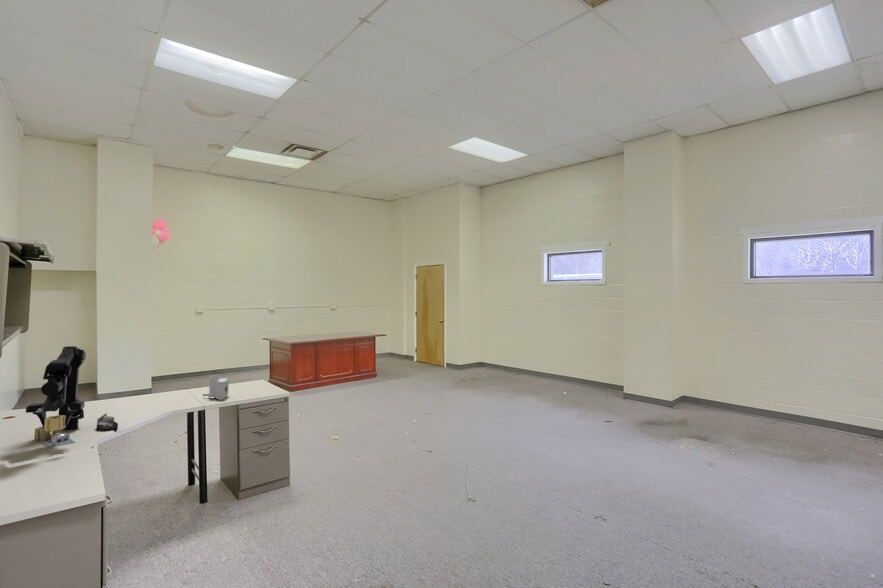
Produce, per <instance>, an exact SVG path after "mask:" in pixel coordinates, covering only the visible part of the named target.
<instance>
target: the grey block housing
mask: <svg viewBox="0 0 883 588" xmlns="http://www.w3.org/2000/svg"><path fill="white" fill-rule="evenodd" d="M229 380H230V378H224V377H223V378H220V375H219V374H212V375H210V376H209V389H208V390H209V391H208V393H203V394H202V397H207V396H208V398H209V397H214V398H216V399H224V398H225V397H226V396H227V395H228V396H229V386H230V385H229V384H230V383H229V382H230V381H229ZM228 396H227V397H228ZM227 397H226V398H227ZM214 398H213V399H214ZM226 398H225V399H226ZM216 399H215V400H216ZM225 399H224V400H225Z"/></svg>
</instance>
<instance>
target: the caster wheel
mask: <svg viewBox="0 0 883 588" xmlns="http://www.w3.org/2000/svg"><path fill="white" fill-rule="evenodd" d="M107 413H108V412H106V413H104V414H103V415H101V416H100V417H98V418H97V420H96V431H97V432H109V431H110V432H111V431H113V432H116V431H117V430H118V428H119V424H118V422H116V421H115V416H109V415H108V414H107Z"/></svg>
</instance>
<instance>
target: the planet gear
mask: <svg viewBox="0 0 883 588" xmlns="http://www.w3.org/2000/svg"><path fill="white" fill-rule="evenodd" d="M65 419H66V416H65V415H62V416H59V414H56V415H52V416H50V415H49V416H48V417H46V418H45V422H44V430H45V431H55V430H56V431H58V430H59V431H61V430H63V428H65V427H66V426H65Z"/></svg>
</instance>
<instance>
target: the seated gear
mask: <svg viewBox="0 0 883 588" xmlns="http://www.w3.org/2000/svg"><path fill="white" fill-rule="evenodd" d="M52 434H57V430H55V431H45V430H44V427H43V426H38V427H37V428H34V441H35V442H38V441H45V440H51V435H52Z"/></svg>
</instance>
